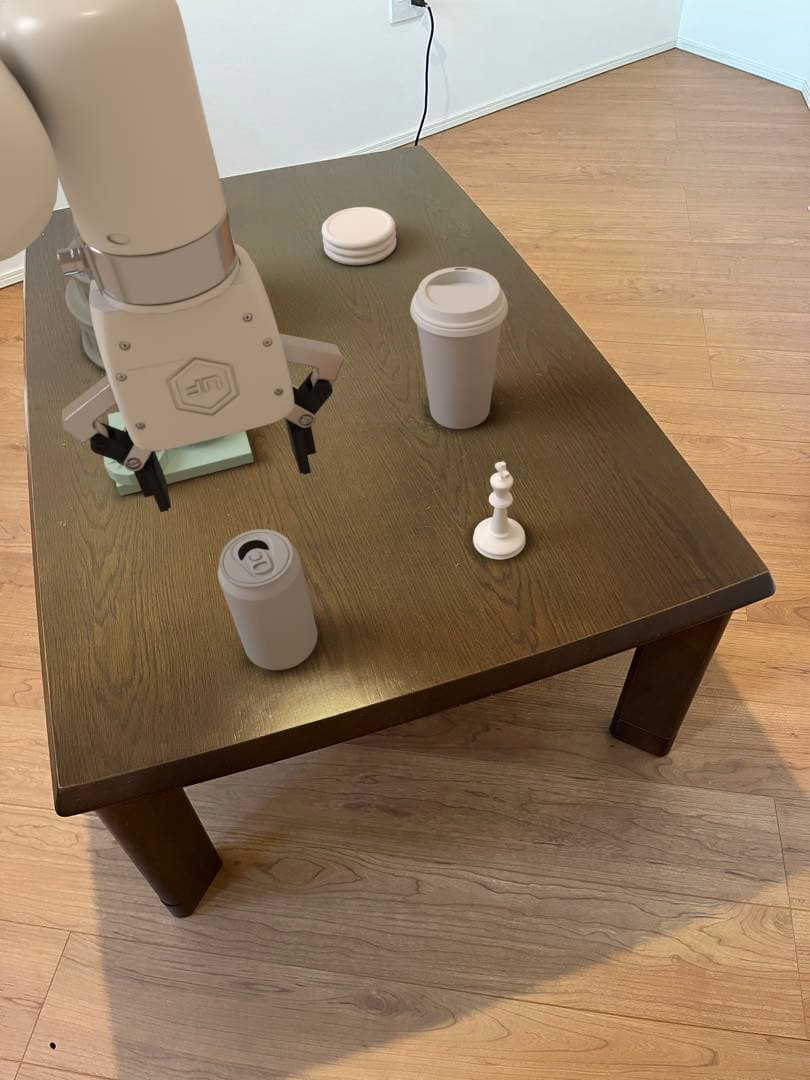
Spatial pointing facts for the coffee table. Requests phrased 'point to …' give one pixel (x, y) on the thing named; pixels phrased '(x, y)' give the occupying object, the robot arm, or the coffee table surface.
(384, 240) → the coaster
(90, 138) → the robot arm
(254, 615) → the beverage can
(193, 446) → the scale
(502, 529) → the chess piece
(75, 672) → the coffee table surface
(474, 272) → the coffee cup
